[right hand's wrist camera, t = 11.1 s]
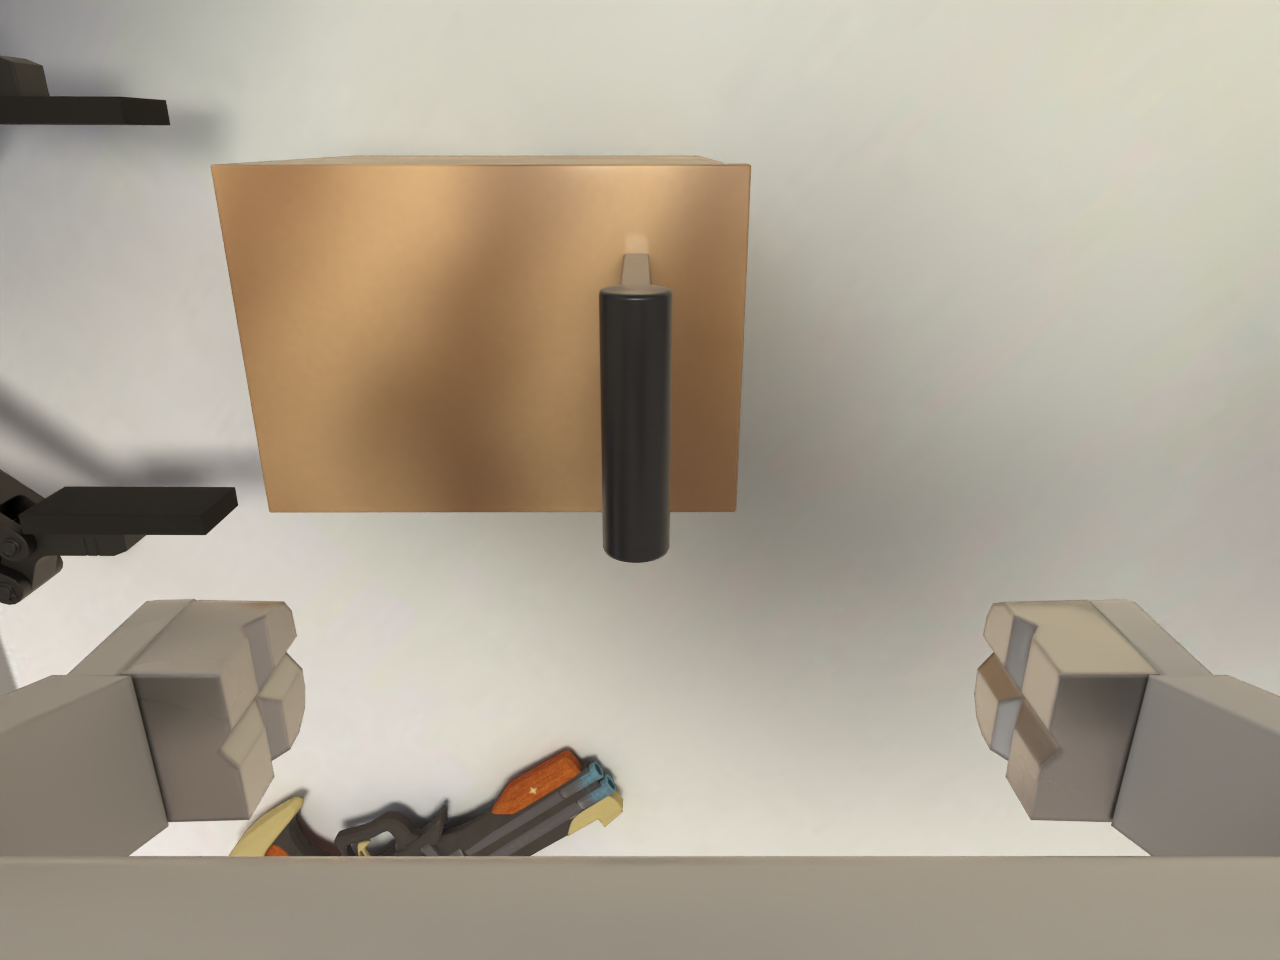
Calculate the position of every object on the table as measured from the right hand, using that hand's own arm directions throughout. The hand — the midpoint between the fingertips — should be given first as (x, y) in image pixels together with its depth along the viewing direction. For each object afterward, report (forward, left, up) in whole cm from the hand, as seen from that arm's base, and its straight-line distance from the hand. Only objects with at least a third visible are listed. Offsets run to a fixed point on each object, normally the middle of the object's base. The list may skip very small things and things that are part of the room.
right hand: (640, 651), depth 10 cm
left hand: (+9, +13, -21) cm, 26 cm away
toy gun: (-15, +25, -28) cm, 40 cm away
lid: (+3, +3, -16) cm, 17 cm away
